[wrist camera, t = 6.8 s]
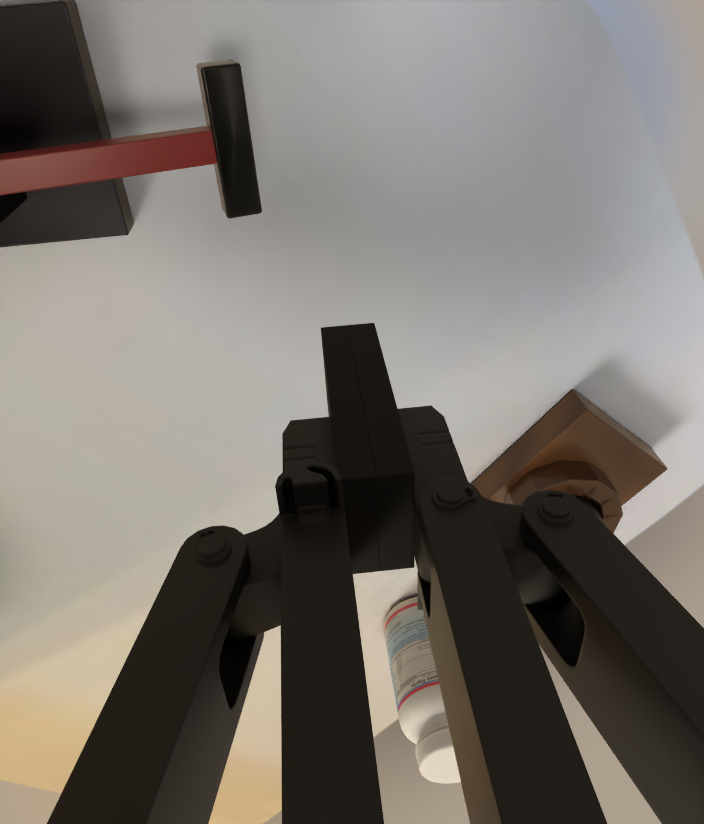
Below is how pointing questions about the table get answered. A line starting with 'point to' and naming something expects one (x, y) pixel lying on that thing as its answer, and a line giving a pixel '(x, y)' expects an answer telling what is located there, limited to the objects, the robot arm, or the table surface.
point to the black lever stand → (53, 125)
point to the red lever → (158, 150)
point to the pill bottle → (419, 692)
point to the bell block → (574, 460)
